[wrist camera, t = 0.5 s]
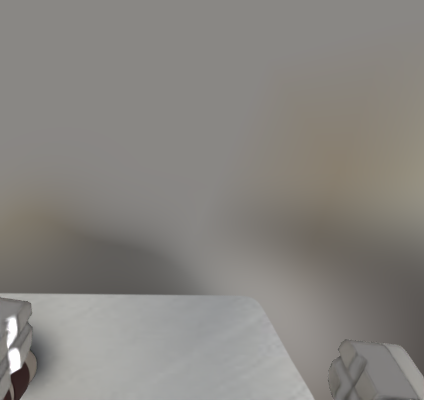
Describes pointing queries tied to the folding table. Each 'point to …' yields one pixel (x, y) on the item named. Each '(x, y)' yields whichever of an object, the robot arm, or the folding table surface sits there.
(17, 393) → the coffee cup
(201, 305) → the folding table surface
